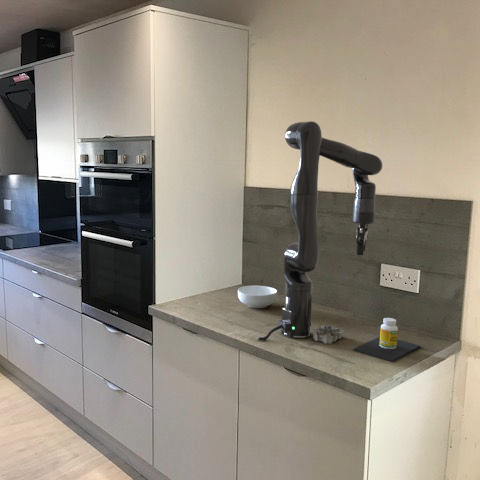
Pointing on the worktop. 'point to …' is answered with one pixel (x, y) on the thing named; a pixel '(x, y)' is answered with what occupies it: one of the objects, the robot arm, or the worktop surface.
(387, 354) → the placemat
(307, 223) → the robot arm
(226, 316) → the worktop surface
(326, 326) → the egg carton
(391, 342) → the supplement bottle
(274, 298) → the cereal bowl
